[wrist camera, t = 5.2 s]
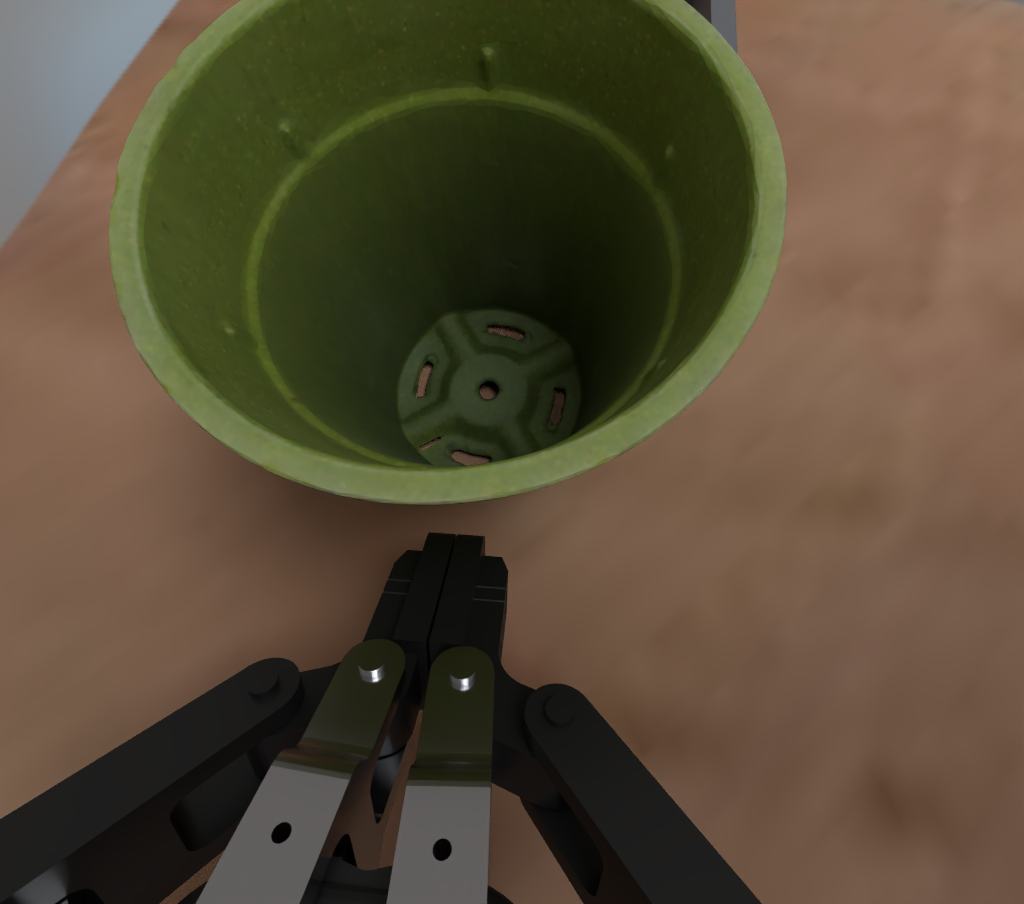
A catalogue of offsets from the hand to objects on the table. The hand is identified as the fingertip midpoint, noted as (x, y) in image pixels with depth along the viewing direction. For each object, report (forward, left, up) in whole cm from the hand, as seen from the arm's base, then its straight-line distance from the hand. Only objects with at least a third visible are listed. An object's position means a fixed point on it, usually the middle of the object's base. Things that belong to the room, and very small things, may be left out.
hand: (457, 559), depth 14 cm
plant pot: (0, -6, -5) cm, 8 cm away
